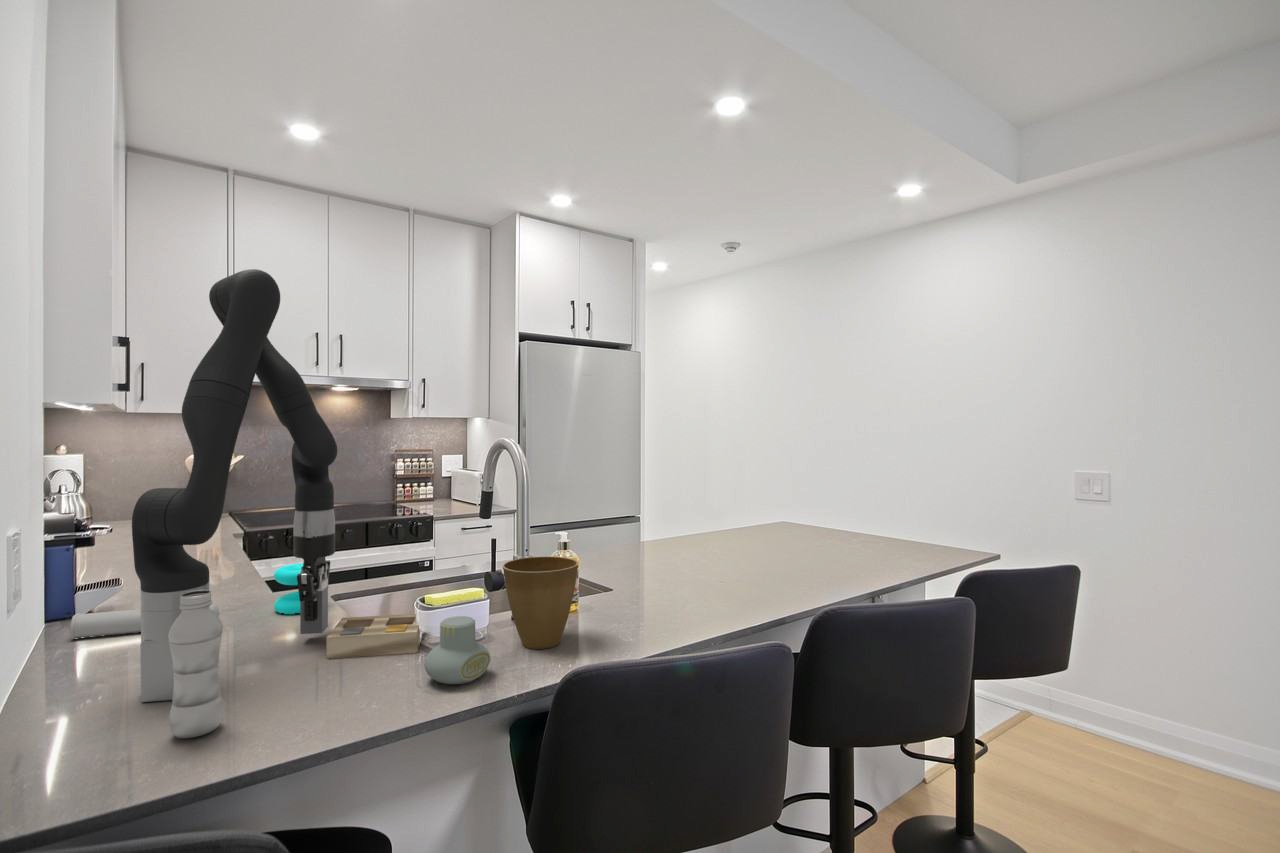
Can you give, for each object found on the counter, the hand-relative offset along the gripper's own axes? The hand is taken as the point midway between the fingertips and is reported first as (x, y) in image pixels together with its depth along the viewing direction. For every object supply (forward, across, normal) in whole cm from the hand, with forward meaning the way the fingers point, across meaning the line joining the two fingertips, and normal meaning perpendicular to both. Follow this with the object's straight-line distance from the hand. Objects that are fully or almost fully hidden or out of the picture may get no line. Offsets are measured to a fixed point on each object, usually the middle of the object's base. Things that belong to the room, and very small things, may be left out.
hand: (314, 616), depth 132 cm
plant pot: (+5, +9, +45) cm, 46 cm away
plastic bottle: (+6, +38, -4) cm, 39 cm away
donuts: (+5, -23, -10) cm, 26 cm away
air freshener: (+5, +25, +30) cm, 39 cm away
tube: (+5, -12, -36) cm, 38 cm away
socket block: (+5, +5, +13) cm, 15 cm away
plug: (+3, 0, 0) cm, 3 cm away
